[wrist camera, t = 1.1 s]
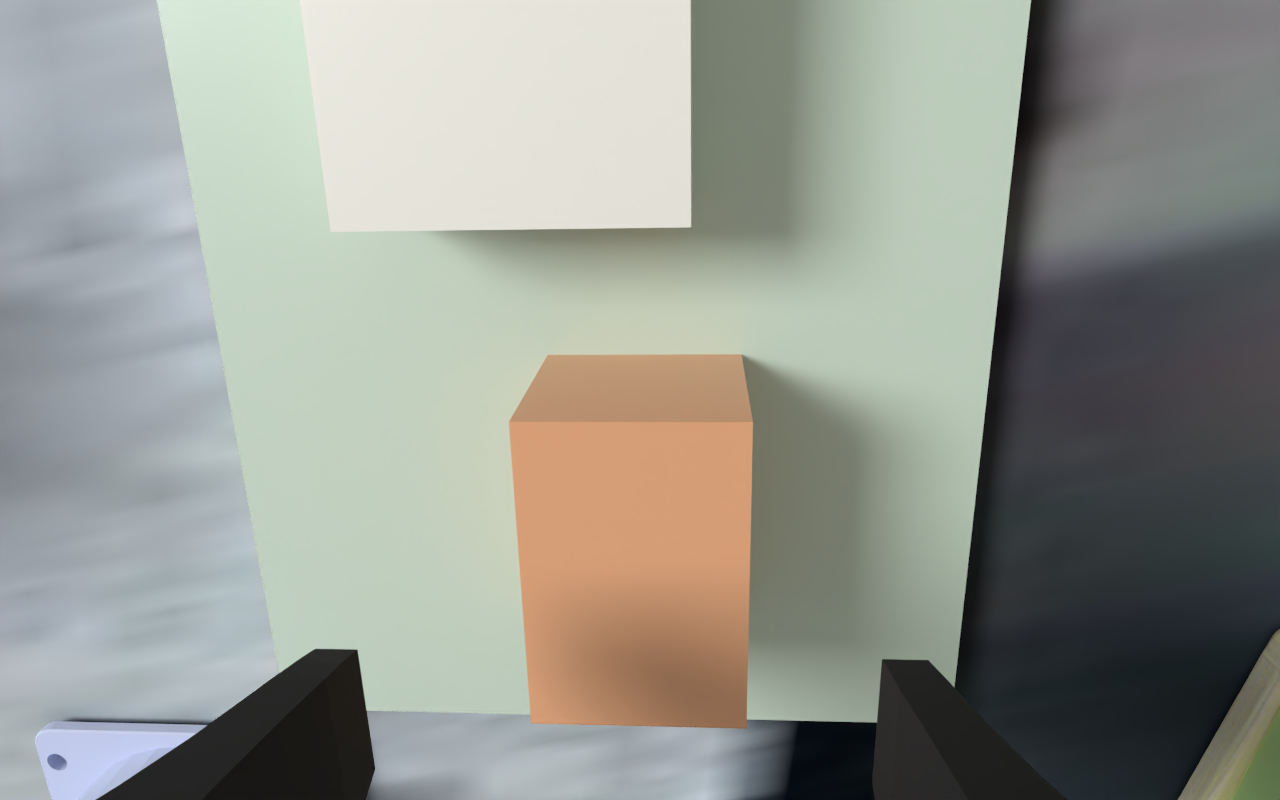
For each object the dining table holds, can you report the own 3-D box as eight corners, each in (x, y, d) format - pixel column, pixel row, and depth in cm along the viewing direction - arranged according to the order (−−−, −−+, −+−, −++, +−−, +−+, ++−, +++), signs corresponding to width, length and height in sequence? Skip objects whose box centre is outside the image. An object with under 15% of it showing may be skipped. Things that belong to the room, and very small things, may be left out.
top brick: (737, 609, 20) (746, 728, 16) (561, 606, 20) (531, 723, 17) (741, 354, 18) (753, 422, 14) (547, 355, 18) (508, 421, 15)
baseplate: (941, 702, 21) (950, 724, 21) (299, 688, 22) (285, 709, 22) (1062, -435, 14) (1082, -463, 14) (114, -378, 15) (83, -402, 15)
